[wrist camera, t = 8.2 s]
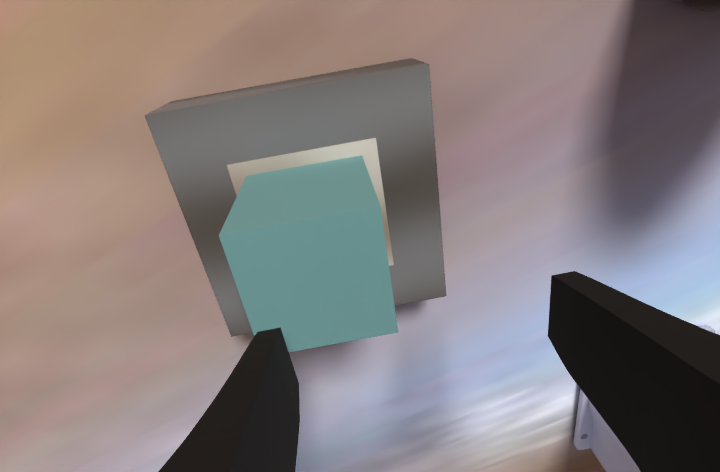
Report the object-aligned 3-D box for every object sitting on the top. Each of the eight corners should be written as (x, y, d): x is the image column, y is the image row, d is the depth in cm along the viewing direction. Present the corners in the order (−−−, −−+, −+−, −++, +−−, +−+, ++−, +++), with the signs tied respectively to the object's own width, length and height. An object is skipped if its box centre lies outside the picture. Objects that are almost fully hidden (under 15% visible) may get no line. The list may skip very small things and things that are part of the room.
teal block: (377, 255, 18) (398, 332, 13) (275, 273, 17) (261, 357, 13) (361, 155, 16) (380, 206, 11) (246, 175, 15) (218, 235, 11)
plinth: (430, 262, 22) (446, 296, 19) (241, 298, 21) (231, 337, 19) (411, 58, 17) (429, 64, 14) (171, 101, 17) (143, 116, 14)
